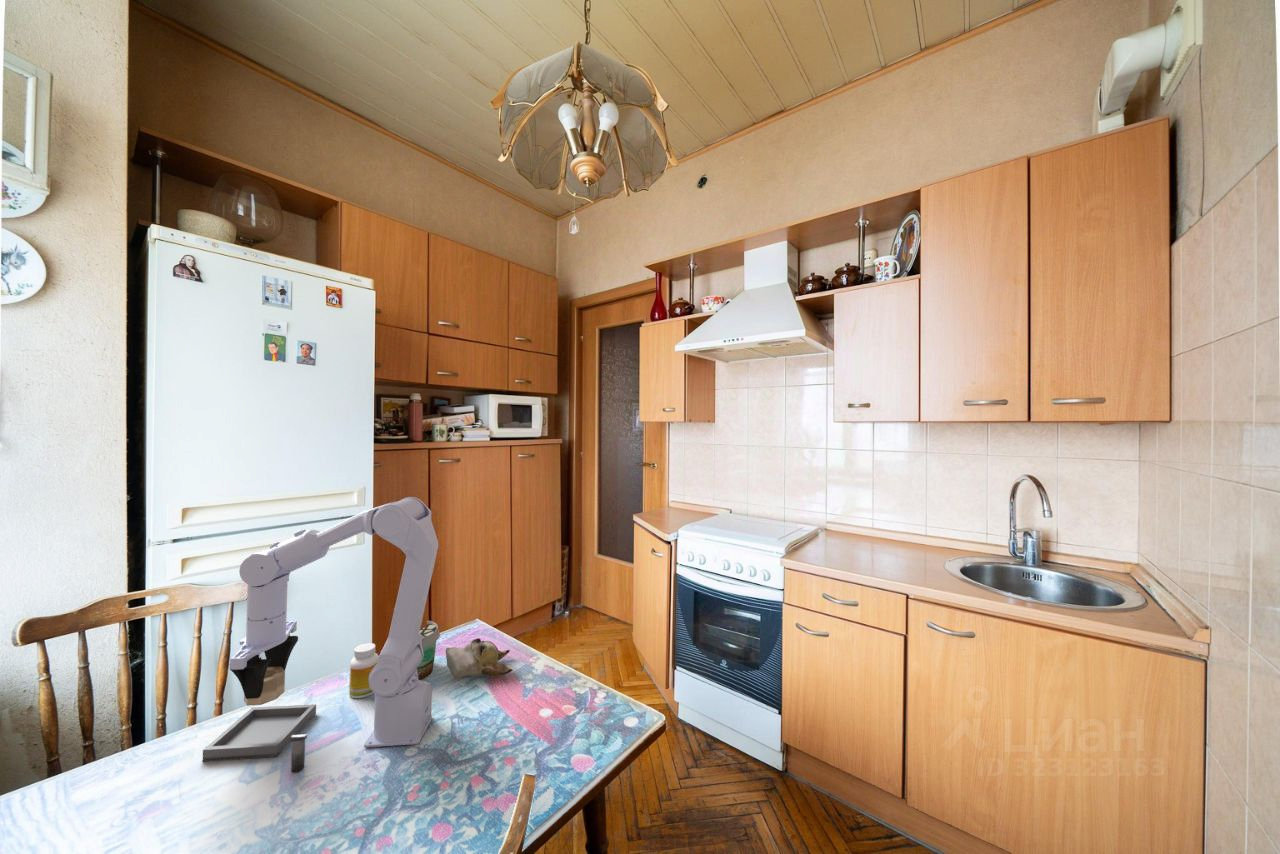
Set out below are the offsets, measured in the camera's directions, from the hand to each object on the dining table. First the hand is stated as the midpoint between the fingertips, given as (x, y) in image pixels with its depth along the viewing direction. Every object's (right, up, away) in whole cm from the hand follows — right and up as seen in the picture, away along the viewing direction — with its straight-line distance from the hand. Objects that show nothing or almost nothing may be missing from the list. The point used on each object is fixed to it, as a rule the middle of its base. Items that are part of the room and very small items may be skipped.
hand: (265, 687), depth 83 cm
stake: (+12, -9, -8) cm, 17 cm away
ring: (0, -2, 0) cm, 2 cm away
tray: (0, -9, 0) cm, 9 cm away
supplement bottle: (+9, -10, +14) cm, 20 cm away
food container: (+19, -10, +22) cm, 30 cm away
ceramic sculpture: (+32, -10, +23) cm, 40 cm away
